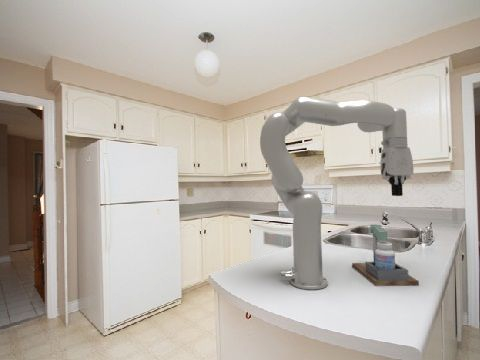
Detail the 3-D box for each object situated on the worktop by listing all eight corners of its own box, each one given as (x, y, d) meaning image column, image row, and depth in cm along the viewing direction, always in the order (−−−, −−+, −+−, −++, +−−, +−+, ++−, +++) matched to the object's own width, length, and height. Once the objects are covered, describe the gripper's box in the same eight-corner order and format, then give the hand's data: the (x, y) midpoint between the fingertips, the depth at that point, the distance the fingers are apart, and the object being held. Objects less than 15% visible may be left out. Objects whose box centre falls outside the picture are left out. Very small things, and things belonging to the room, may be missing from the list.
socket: (378, 281, 86) (377, 270, 86) (365, 271, 95) (365, 261, 95) (408, 280, 85) (407, 270, 85) (392, 271, 95) (392, 261, 95)
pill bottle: (373, 276, 90) (372, 244, 90) (377, 271, 95) (376, 240, 95) (394, 280, 86) (392, 246, 86) (397, 275, 91) (395, 242, 91)
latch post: (375, 265, 102) (374, 234, 102) (372, 263, 104) (371, 233, 105) (381, 265, 102) (380, 234, 102) (378, 263, 104) (377, 232, 105)
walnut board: (374, 285, 86) (374, 281, 86) (352, 266, 106) (352, 263, 106) (418, 285, 85) (418, 280, 85) (387, 266, 105) (387, 262, 105)
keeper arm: (369, 231, 106) (369, 224, 106) (380, 232, 105) (380, 224, 105) (377, 240, 90) (376, 231, 90) (390, 240, 89) (389, 232, 89)
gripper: (384, 142, 88) (387, 197, 87) (421, 142, 91) (424, 195, 90) (369, 146, 95) (371, 196, 95) (404, 146, 98) (406, 194, 98)
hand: (397, 195), depth 93 cm, fingers closed
